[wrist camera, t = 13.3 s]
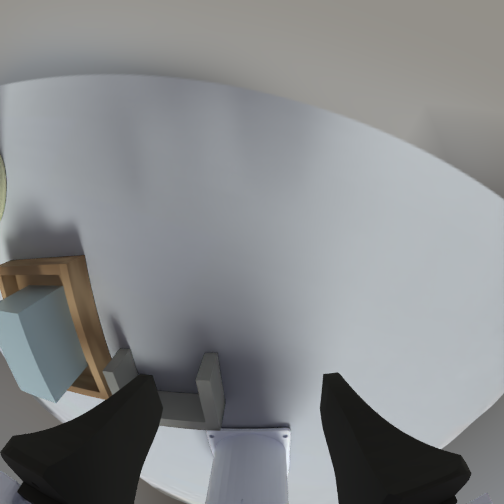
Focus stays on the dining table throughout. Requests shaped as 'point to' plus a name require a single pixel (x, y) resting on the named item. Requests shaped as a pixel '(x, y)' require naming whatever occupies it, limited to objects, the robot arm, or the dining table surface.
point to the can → (2, 187)
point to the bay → (178, 404)
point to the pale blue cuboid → (41, 341)
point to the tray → (80, 305)
